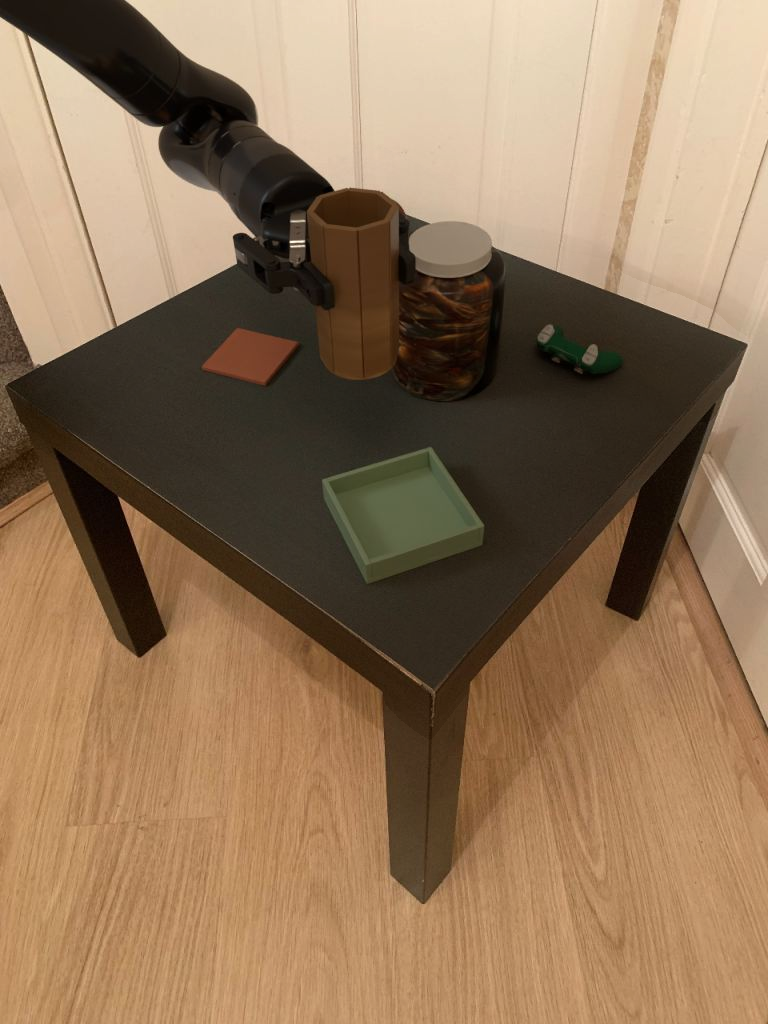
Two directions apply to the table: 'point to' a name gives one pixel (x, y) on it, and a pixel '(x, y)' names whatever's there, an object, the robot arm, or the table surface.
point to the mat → (250, 356)
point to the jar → (450, 313)
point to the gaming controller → (577, 352)
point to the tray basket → (401, 514)
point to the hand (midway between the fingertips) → (370, 285)
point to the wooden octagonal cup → (357, 280)
